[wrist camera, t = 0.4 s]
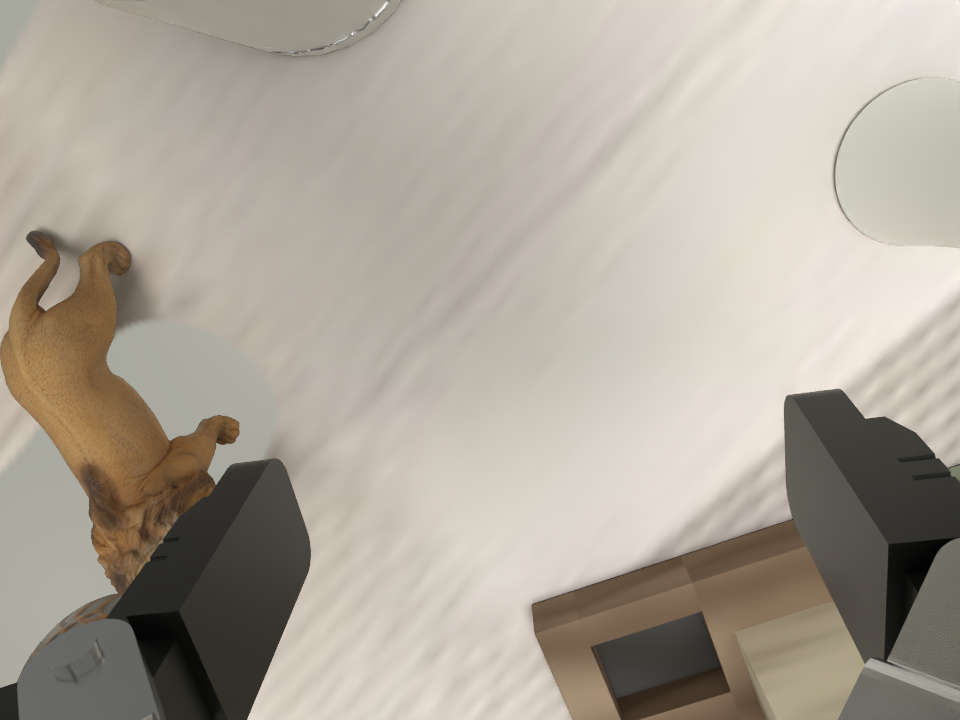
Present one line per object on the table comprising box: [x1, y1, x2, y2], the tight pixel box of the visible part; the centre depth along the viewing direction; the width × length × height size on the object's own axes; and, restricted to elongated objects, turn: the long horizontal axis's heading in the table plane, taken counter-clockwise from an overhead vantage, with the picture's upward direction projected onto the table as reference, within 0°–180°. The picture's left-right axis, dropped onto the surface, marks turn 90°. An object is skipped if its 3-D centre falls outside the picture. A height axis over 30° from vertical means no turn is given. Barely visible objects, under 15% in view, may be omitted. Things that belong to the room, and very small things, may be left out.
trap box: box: [532, 465, 960, 720], centre depth 34 cm, size 14×30×2 cm, turn 111°
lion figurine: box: [0, 231, 239, 595], centre depth 27 cm, size 15×5×9 cm, turn 34°
